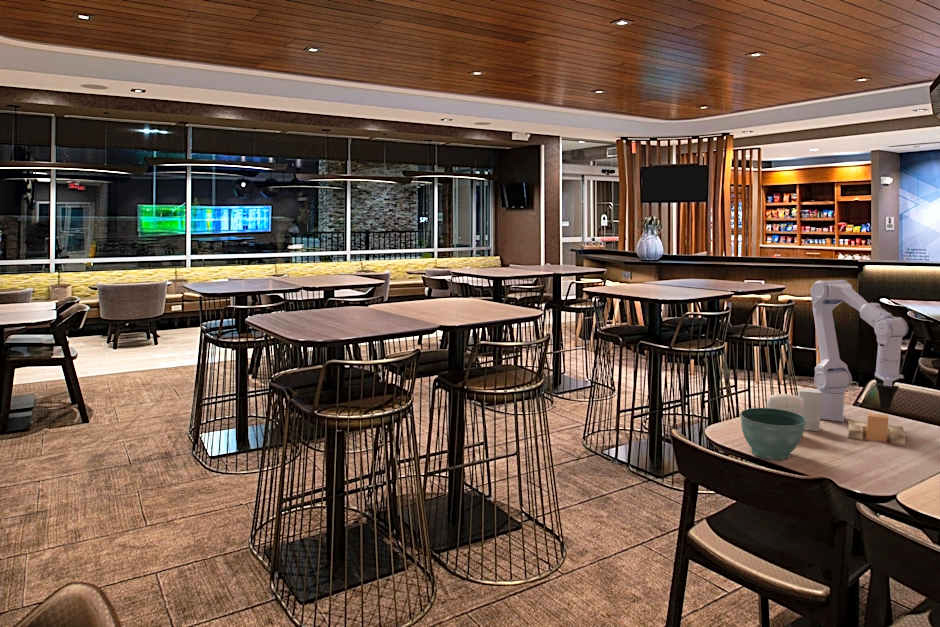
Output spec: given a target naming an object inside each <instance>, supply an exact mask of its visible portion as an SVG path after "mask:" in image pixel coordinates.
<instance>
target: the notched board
mask: <svg viewBox="0 0 940 627" xmlns="http://www.w3.org/2000/svg"><path fill="white" fill-rule="evenodd" d="M866 429H867V421H862V420H851V419H848V424H847V432H848V439H852V440H859V439H861V440H860V441H863V436H864V435H865V434H866ZM887 438H889V442H890V444H891V443H894V444H893V445H898V444H902V445H901V446H906V438H907V437H906V433H905V430H904V427H903V425H902V426H901V425H894V424H888V429H887Z"/></svg>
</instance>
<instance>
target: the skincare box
mask: <svg viewBox="0 0 940 627" xmlns="http://www.w3.org/2000/svg"><path fill="white" fill-rule="evenodd" d="M815 389H816V388H798V389H797V391H798V392H797V396H798V397H801V398H803V399H804V405H805V409H804V418H805V419H806V423H805V426H804V431H810V430H811V431H812V432H820V424H821V423H820V422H821V419H820V411H821V394H822V393H821V392H820V390H815Z"/></svg>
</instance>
